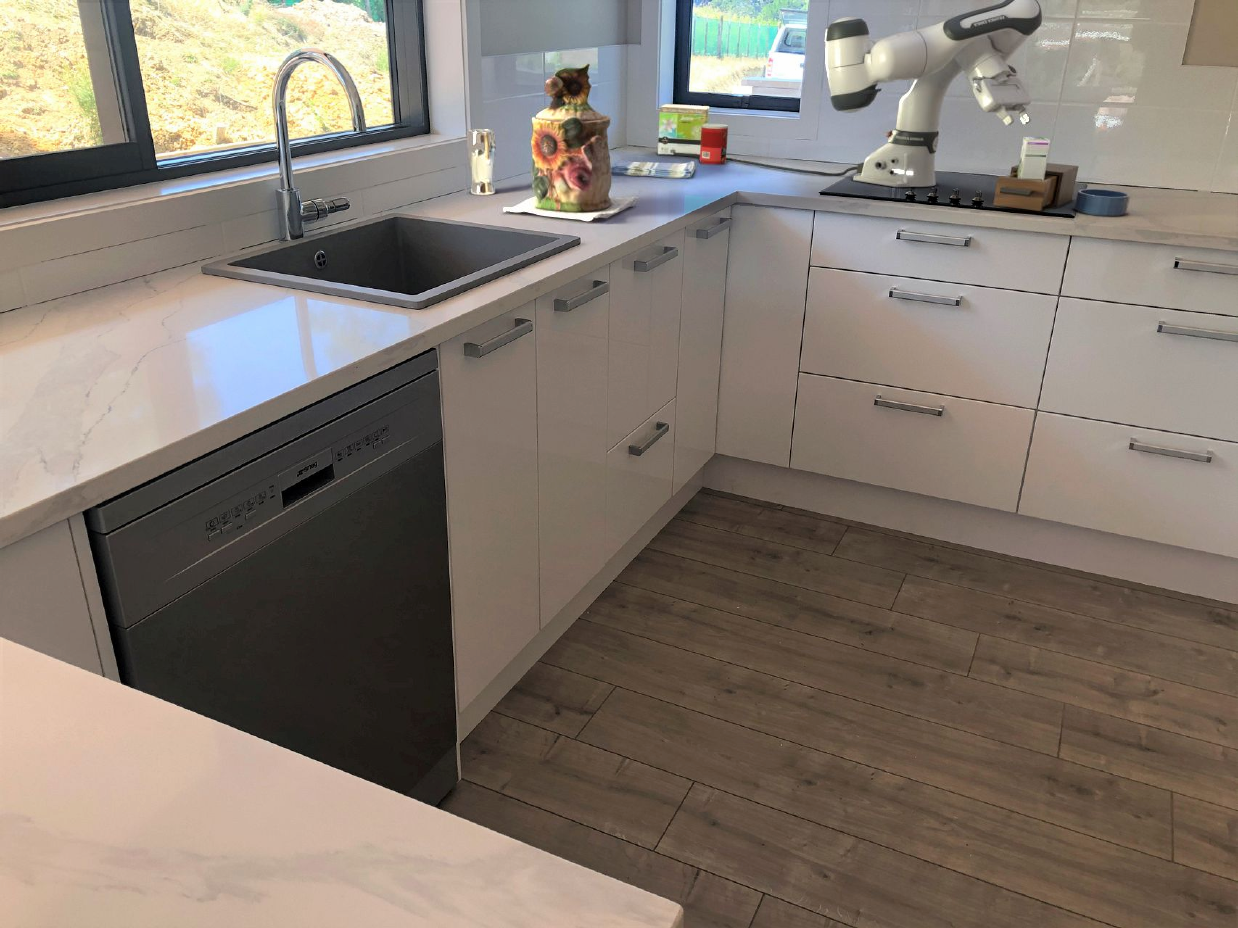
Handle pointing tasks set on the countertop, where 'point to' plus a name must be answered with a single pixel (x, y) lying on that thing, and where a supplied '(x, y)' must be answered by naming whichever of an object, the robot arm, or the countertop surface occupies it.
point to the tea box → (681, 128)
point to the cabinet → (1060, 182)
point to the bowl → (1102, 202)
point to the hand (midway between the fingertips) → (1019, 123)
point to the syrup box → (1033, 158)
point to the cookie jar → (571, 154)
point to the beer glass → (482, 160)
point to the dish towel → (654, 169)
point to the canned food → (713, 143)
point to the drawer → (1025, 192)
